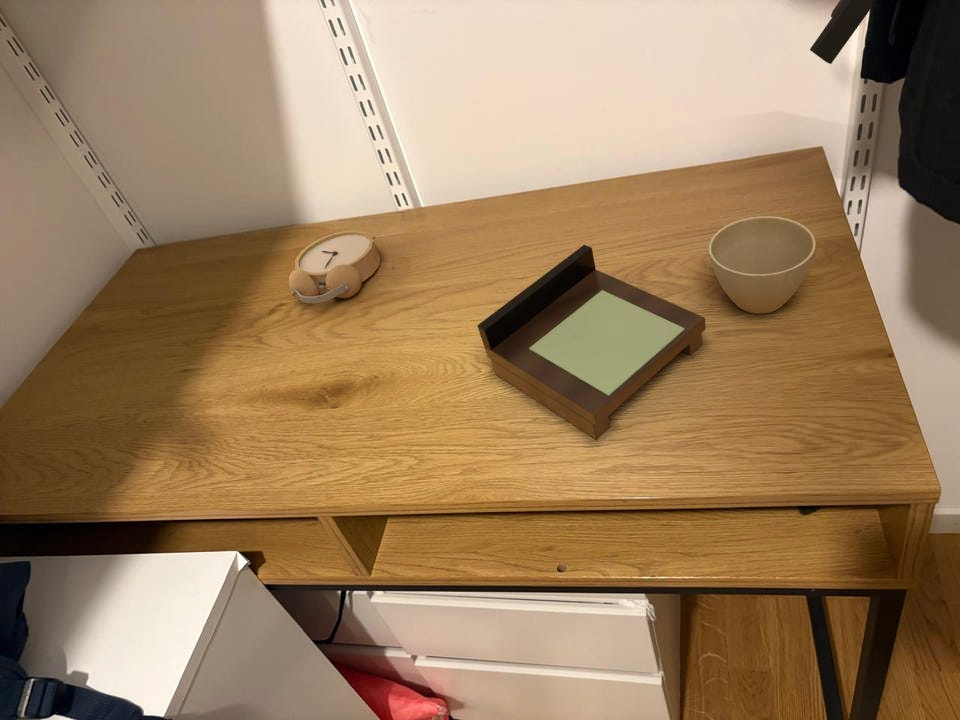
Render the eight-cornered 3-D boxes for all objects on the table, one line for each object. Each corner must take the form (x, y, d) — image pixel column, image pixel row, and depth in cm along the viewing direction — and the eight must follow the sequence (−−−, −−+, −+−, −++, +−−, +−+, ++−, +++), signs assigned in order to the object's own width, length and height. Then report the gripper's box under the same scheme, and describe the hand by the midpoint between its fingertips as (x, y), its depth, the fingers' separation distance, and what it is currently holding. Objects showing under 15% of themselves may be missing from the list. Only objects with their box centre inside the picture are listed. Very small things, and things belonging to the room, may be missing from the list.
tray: (707, 346, 76) (703, 294, 71) (600, 442, 70) (589, 392, 66) (593, 293, 87) (584, 244, 82) (492, 372, 81) (476, 325, 77)
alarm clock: (384, 225, 104) (345, 276, 92) (393, 257, 106) (357, 310, 95) (313, 233, 107) (266, 283, 95) (324, 264, 110) (280, 316, 98)
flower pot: (796, 338, 74) (799, 282, 69) (698, 320, 79) (694, 267, 74) (823, 276, 79) (827, 220, 74) (729, 263, 84) (727, 210, 80)
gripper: (1246, -133, 50) (1004, 147, 59) (957, -159, 69) (806, 57, 78) (1211, -201, 46) (957, 109, 55) (915, -210, 65) (761, 24, 74)
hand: (868, 79), depth 67 cm, fingers open, 13 cm apart
